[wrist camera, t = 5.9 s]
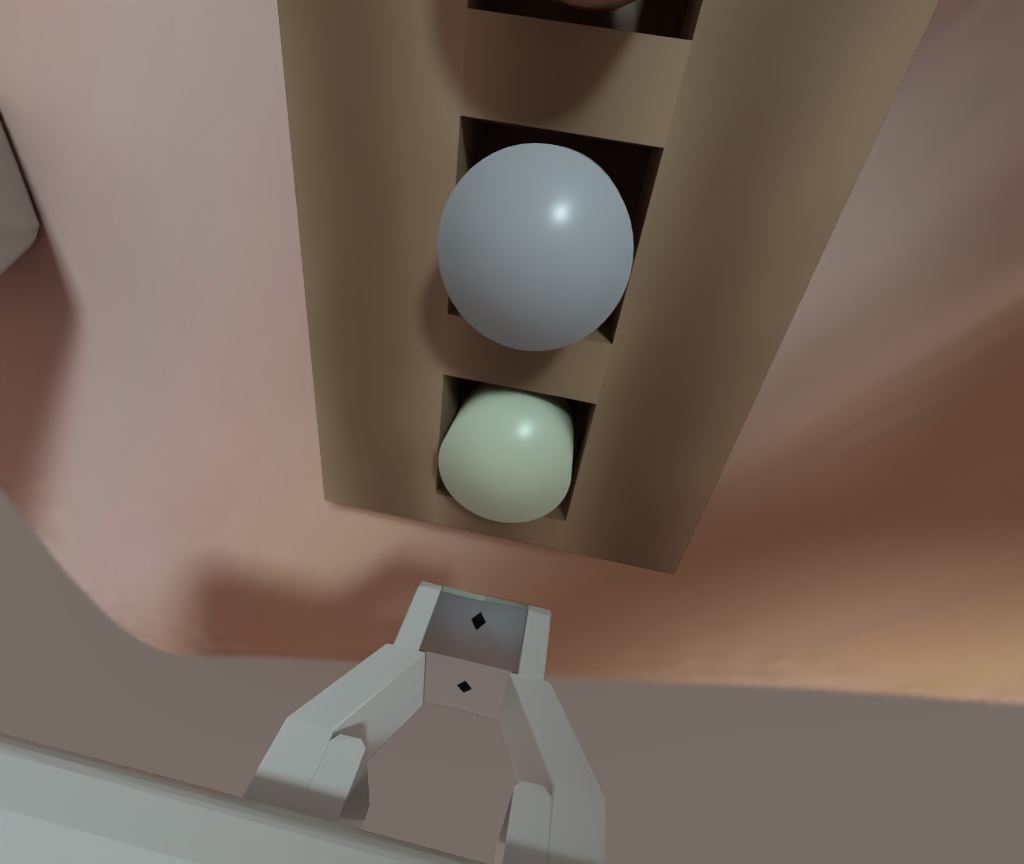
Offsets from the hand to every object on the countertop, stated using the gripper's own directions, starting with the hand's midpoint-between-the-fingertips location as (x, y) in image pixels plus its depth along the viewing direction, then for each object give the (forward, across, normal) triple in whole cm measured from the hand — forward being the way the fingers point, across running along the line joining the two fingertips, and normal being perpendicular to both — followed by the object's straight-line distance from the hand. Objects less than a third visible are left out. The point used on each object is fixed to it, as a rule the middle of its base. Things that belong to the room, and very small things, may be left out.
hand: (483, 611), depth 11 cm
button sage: (+8, +1, 0) cm, 8 cm away
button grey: (+7, 0, -7) cm, 10 cm away
